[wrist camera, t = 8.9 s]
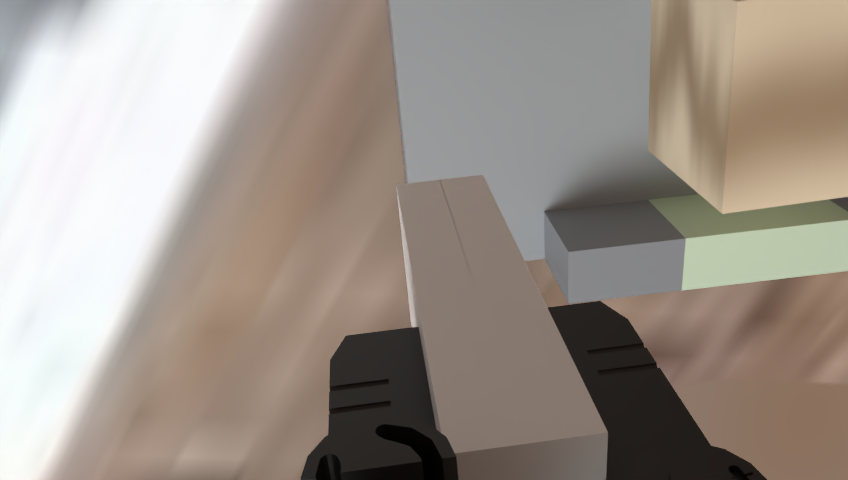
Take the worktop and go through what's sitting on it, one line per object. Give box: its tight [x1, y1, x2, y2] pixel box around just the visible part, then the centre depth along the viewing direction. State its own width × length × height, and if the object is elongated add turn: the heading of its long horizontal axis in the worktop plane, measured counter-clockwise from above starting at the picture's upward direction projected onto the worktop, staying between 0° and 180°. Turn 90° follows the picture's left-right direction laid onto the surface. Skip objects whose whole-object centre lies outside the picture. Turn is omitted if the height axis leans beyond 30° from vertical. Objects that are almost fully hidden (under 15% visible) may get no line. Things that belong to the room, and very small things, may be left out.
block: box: [648, 0, 848, 214], centre depth 23 cm, size 6×6×6 cm
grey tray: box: [387, 0, 848, 304], centre depth 25 cm, size 14×21×6 cm, turn 95°
